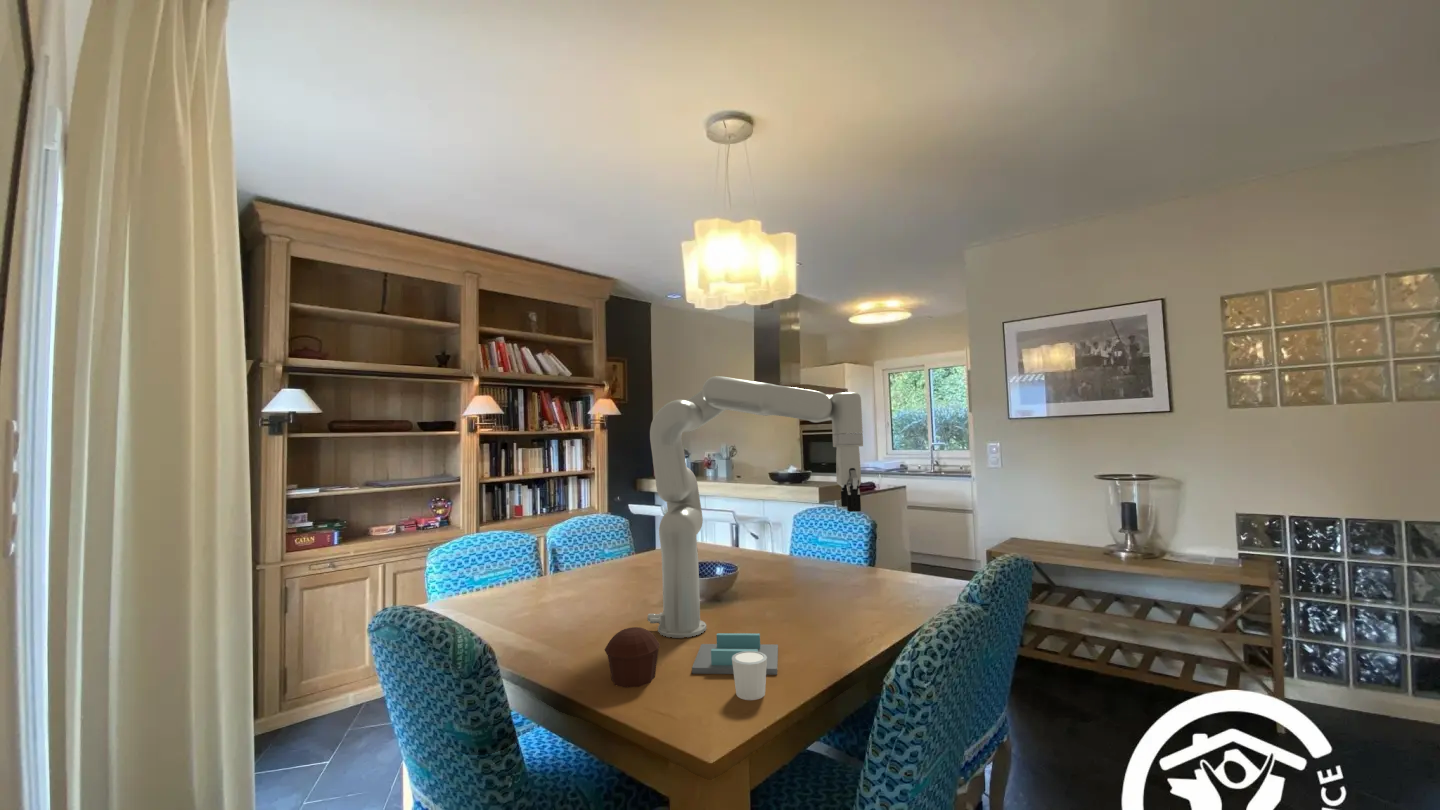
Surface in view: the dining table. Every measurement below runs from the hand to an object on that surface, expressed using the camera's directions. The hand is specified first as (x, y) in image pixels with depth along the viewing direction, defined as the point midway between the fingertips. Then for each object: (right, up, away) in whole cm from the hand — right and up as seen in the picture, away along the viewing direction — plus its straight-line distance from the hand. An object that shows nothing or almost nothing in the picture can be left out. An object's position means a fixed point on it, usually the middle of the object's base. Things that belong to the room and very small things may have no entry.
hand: (850, 508), depth 146 cm
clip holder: (-29, -31, -17) cm, 46 cm away
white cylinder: (-27, -30, -34) cm, 53 cm away
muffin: (-51, -31, -25) cm, 65 cm away
